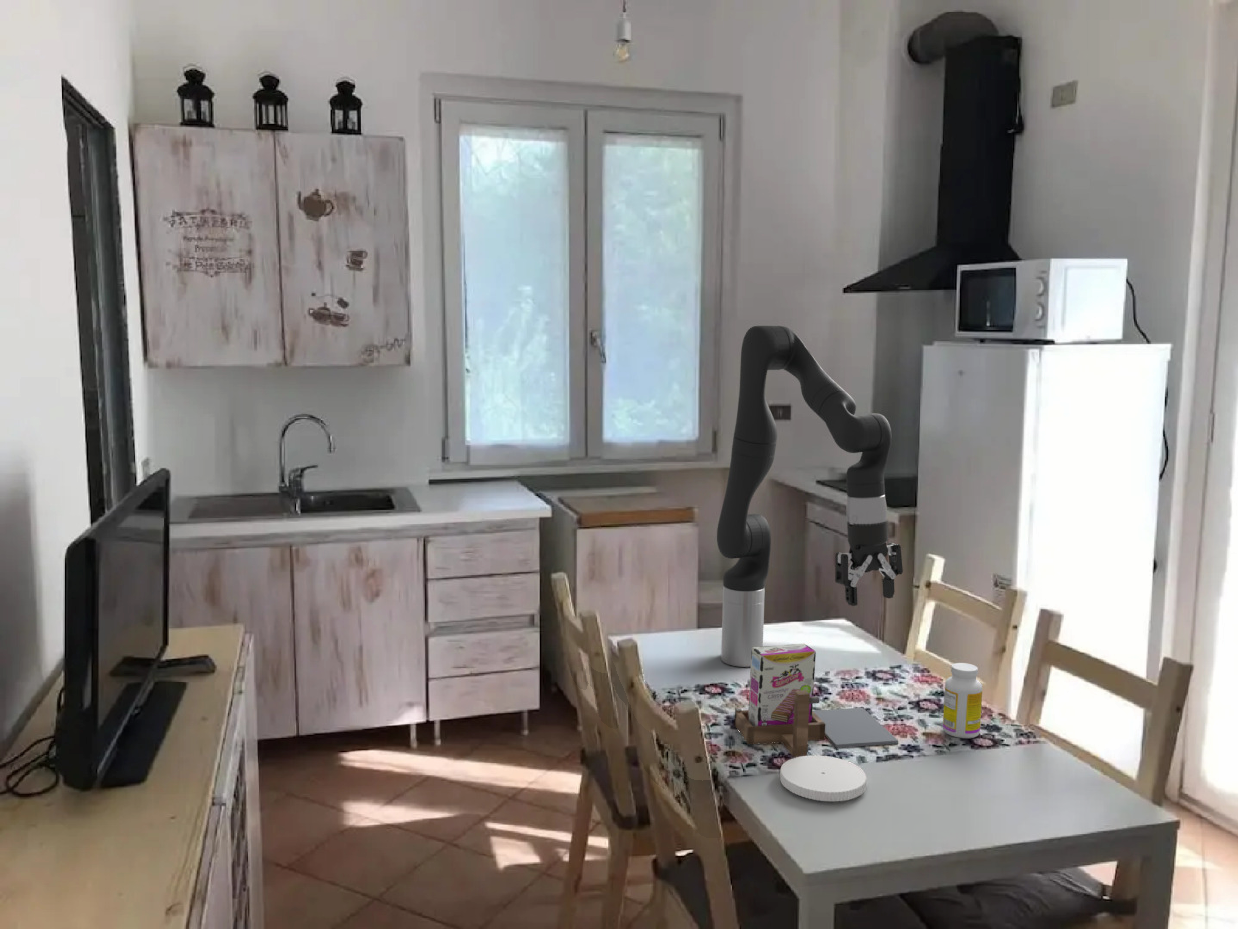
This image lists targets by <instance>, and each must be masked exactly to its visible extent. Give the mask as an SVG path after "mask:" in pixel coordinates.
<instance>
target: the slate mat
mask: <svg viewBox="0 0 1238 929" xmlns="http://www.w3.org/2000/svg"><path fill="white" fill-rule="evenodd" d="M812 711H813V712H814V713H815V714H816V715H817V716H818V717H819V718H820V719H821V720H822V721H823V722H824V723H825V739H828V741H829V742H830V743H831V744H832V745H833V747H835V748H836V749H837V748H853V747H863V746H864V747H865V746H866V747H867V746H869V747H870V746H881V745H883V746H885V745H895V744H899V740H898V739H897V738H896V736H894V735H893V734H892V733H891V732H890V731H889V730H888V729H887V728H885V726H883V725H882V724H881V722H879V721H878V720H877V719H876V718H874V717H873V716H872V715H871V714H870V713H869V712H868V711H867V710H866V709H865V708H864V707H853V708H852V707H851V708H836V709H835V708H834V709H817V710H815V709H814V710H812Z"/></svg>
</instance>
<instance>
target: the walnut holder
mask: <svg viewBox="0 0 1238 929" xmlns="http://www.w3.org/2000/svg"><path fill="white" fill-rule="evenodd" d="M819 703H820V697H819V696H818V695H815V696H814V695H813V697H810V694H809V693H808V692H807V691H806V690H799V691H795V697H794V723H793V724H784V725H768V726H752V725H751V724H750V723H749V721H748V716H749V714H748V713H749V709H747V710H734V727H735V726H736V727H735V728H737V729H738V730H739V731H740V733H741V734H742V735H741V734H740V733H739V734H740V735H741V737H742V736H743V737H744V738H743V737H742V738H743V740H746V741H745V742H746V743H748V744H751V745H759V744H758V743H761V744H760V745H763V744H762V743H766V744H777V742H782V743H781V744H782V745H783V746H784V747H785V748H786V751H788V752H789V754H790V755H791V756H792V757H793V758H796V757H800V756H801V757H802V756H808V746H809V745H808V744H809V742H810V741H812V742H813V741H825V739H826V736H825V723H824V722H823V721H822V720H821V719H820V718H819V717H818V716H817V715H816V714H815V713H814V712H813V711H814V710H812V723H809V704H813V705H814V704H819ZM737 729H736V730H737ZM738 730H737V731H738ZM739 731H738V732H739ZM772 742H773V743H772ZM774 742H775V743H774ZM748 744H747V745H748Z"/></svg>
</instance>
